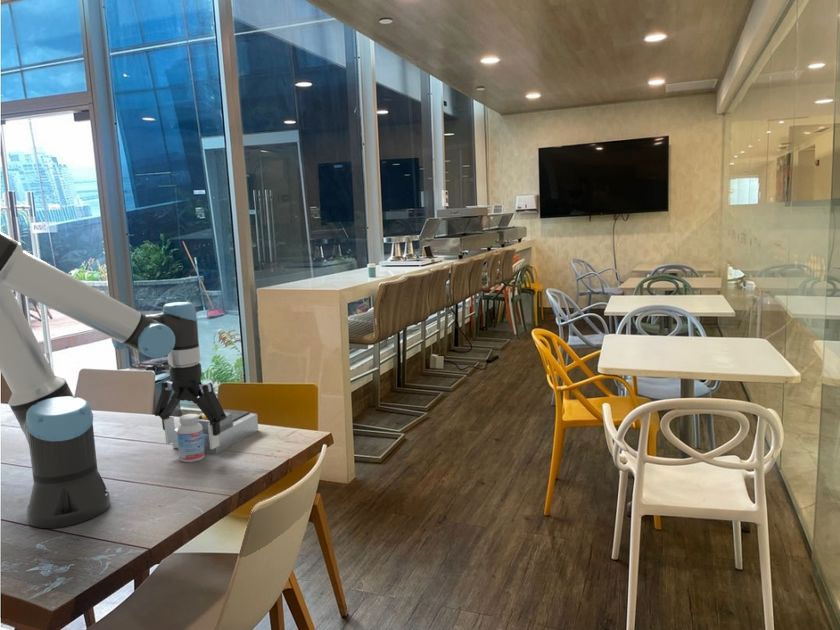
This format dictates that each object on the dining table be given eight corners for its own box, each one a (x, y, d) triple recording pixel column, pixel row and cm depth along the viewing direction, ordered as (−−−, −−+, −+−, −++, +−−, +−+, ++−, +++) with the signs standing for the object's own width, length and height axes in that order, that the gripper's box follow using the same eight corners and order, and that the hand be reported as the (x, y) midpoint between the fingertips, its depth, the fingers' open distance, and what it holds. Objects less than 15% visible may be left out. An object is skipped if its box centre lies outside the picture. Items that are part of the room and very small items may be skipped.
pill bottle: (188, 465, 154) (184, 421, 152) (174, 459, 157) (171, 417, 156) (209, 457, 158) (206, 415, 157) (195, 452, 162) (192, 411, 160)
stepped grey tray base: (216, 453, 161) (214, 424, 159) (172, 448, 165) (170, 419, 164) (258, 430, 178) (256, 403, 177) (217, 426, 183) (216, 400, 182)
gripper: (236, 362, 153) (242, 443, 157) (155, 358, 162) (163, 435, 165) (216, 370, 146) (224, 454, 150) (134, 365, 155) (142, 445, 158)
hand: (192, 444), depth 157 cm, fingers open, 13 cm apart
